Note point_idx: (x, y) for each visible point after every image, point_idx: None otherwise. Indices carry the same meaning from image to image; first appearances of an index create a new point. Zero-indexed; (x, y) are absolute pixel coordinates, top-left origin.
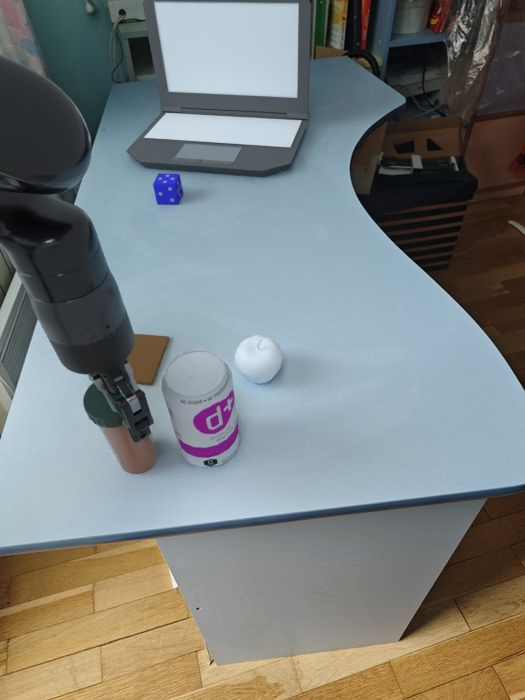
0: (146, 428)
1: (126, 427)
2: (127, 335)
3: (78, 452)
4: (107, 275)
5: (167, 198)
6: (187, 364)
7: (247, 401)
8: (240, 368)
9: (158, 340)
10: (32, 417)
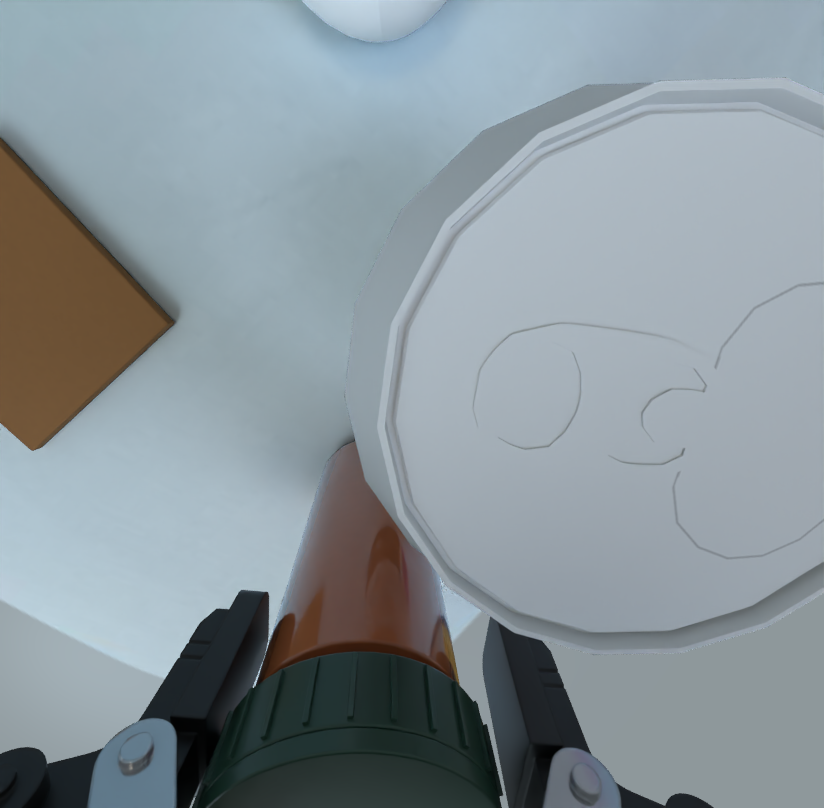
0: (566, 697)
1: (500, 758)
2: None
3: (260, 573)
4: None
5: None
6: (532, 407)
7: (442, 123)
8: (368, 21)
9: None
10: (88, 602)
